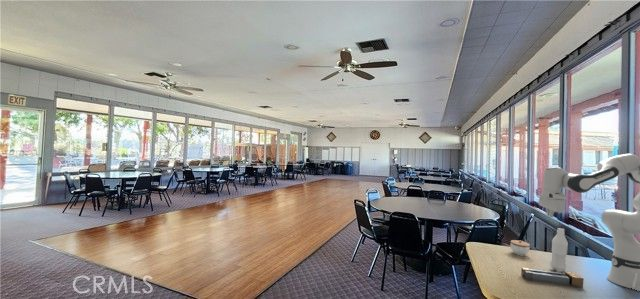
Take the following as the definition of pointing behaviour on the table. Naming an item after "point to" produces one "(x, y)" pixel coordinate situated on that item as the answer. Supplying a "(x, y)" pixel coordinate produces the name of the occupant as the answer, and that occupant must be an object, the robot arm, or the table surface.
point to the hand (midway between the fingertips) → (549, 216)
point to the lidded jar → (520, 247)
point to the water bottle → (559, 251)
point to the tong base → (556, 278)
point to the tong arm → (542, 272)
